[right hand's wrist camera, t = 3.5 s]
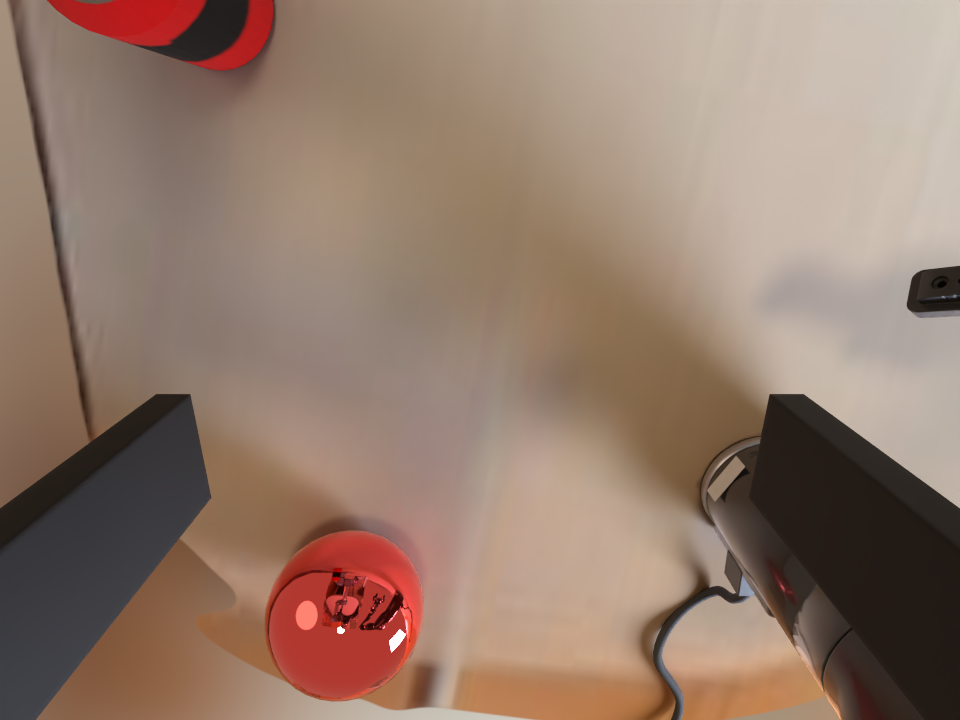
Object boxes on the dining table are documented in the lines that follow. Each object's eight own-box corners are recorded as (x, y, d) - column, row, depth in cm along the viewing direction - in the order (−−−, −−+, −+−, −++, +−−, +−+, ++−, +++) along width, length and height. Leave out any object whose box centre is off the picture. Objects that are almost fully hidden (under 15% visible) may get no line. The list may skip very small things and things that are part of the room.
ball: (380, 630, 51) (351, 764, 40) (269, 566, 48) (205, 690, 37) (458, 548, 48) (451, 669, 36) (343, 475, 45) (298, 581, 34)
